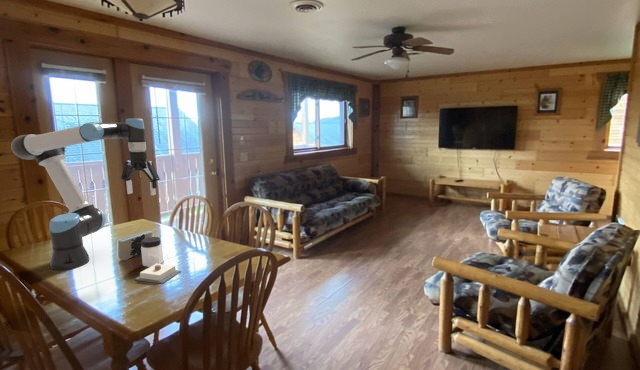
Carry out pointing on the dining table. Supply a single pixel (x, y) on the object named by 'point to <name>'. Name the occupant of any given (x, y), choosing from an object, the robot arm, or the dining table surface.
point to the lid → (157, 272)
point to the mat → (161, 280)
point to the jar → (151, 251)
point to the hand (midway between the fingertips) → (141, 194)
